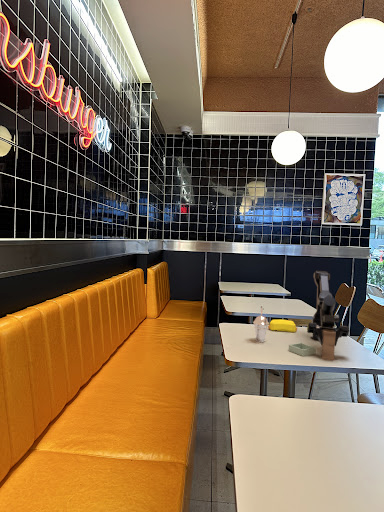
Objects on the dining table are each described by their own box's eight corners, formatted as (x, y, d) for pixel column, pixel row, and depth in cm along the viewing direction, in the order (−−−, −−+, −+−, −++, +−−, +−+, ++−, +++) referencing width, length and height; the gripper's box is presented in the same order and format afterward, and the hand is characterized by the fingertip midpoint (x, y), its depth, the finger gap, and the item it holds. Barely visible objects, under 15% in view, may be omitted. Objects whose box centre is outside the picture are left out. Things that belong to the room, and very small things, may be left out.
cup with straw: (270, 341, 187) (273, 305, 187) (262, 344, 181) (264, 307, 180) (257, 337, 193) (259, 302, 192) (248, 340, 186) (250, 304, 186)
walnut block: (321, 355, 167) (322, 329, 167) (332, 356, 166) (333, 330, 165) (322, 358, 162) (324, 331, 162) (333, 360, 161) (335, 332, 161)
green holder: (301, 348, 177) (301, 342, 177) (315, 353, 169) (316, 347, 169) (288, 350, 172) (288, 344, 172) (303, 356, 165) (303, 350, 164)
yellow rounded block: (298, 333, 208) (295, 330, 216) (299, 322, 208) (296, 319, 216) (268, 331, 210) (267, 328, 218) (269, 320, 210) (267, 317, 217)
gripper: (309, 306, 169) (309, 334, 159) (349, 309, 165) (353, 338, 155) (306, 318, 177) (307, 345, 167) (345, 322, 173) (348, 350, 163)
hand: (328, 345), depth 163 cm, fingers open, 6 cm apart
